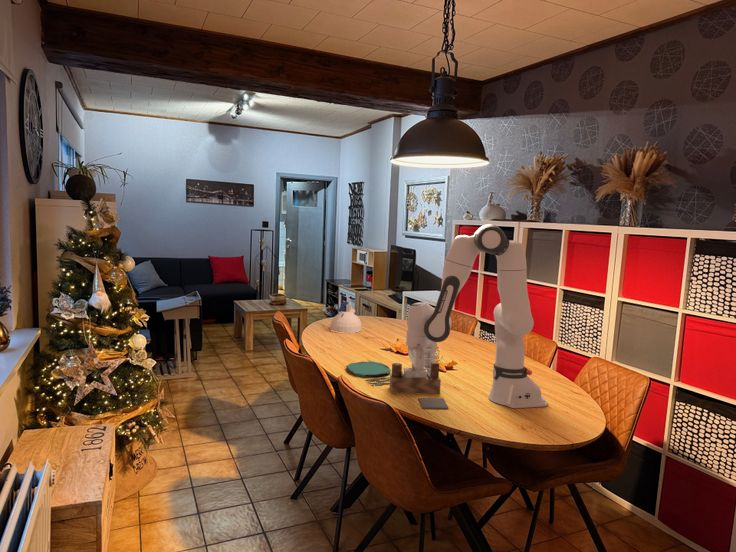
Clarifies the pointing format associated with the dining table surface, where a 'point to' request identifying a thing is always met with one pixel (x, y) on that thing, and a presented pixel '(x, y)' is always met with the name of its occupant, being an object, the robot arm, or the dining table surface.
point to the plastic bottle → (429, 354)
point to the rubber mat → (433, 403)
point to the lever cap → (410, 373)
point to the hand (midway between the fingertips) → (415, 373)
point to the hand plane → (415, 381)
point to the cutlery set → (370, 371)
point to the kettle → (346, 321)
